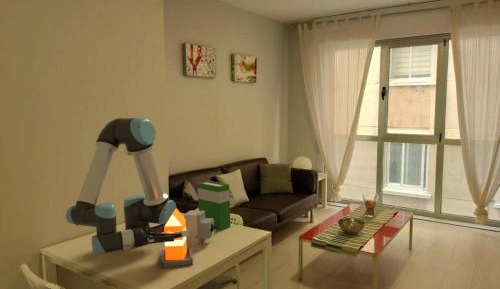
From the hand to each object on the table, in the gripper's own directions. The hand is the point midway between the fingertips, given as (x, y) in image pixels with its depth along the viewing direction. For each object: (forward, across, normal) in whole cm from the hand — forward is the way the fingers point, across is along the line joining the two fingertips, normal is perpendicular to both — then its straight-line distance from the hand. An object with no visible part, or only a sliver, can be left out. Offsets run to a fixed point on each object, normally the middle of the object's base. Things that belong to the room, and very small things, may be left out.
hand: (185, 229), depth 161 cm
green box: (+27, -35, -13) cm, 46 cm away
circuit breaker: (+12, -14, -13) cm, 23 cm away
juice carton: (-4, 0, -11) cm, 12 cm away
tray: (-4, 0, -13) cm, 14 cm away
